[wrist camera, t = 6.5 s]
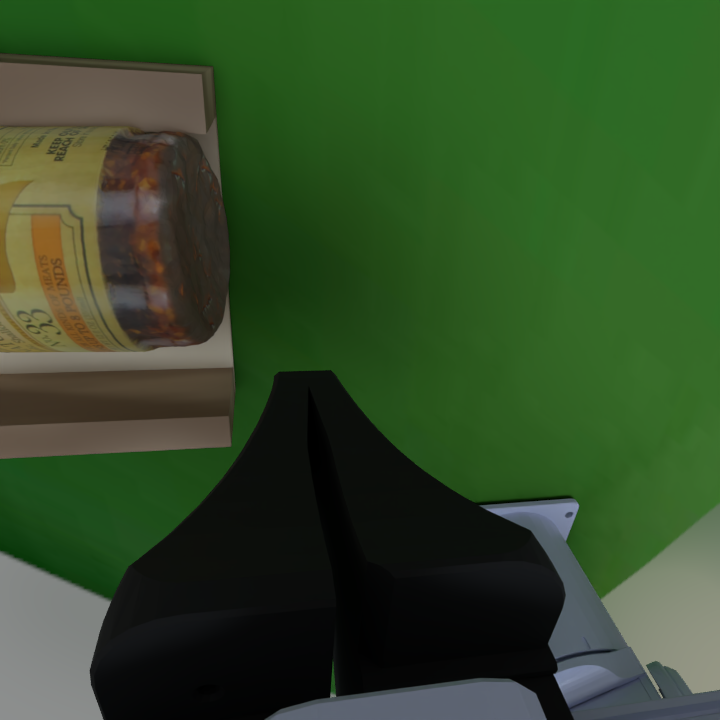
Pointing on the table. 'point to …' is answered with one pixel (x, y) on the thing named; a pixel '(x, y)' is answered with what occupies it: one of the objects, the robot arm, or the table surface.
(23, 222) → the sauce bottle
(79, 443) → the u rest
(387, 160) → the table surface
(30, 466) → the table surface
